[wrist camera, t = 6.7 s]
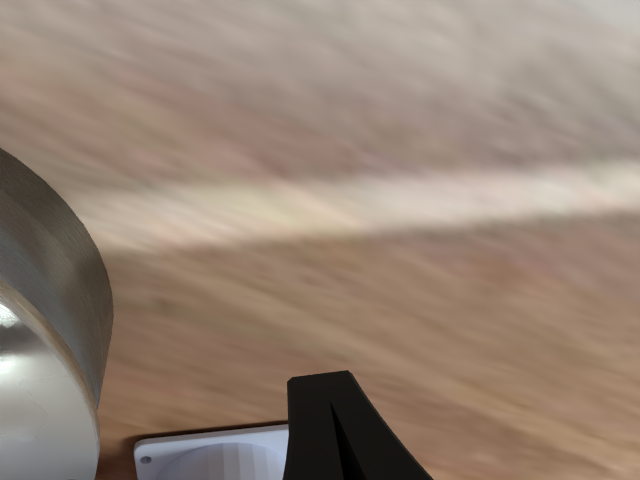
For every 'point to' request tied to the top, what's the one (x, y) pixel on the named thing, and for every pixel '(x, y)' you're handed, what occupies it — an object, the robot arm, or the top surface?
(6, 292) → the cooker lid
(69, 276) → the cooker pot
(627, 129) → the top surface
